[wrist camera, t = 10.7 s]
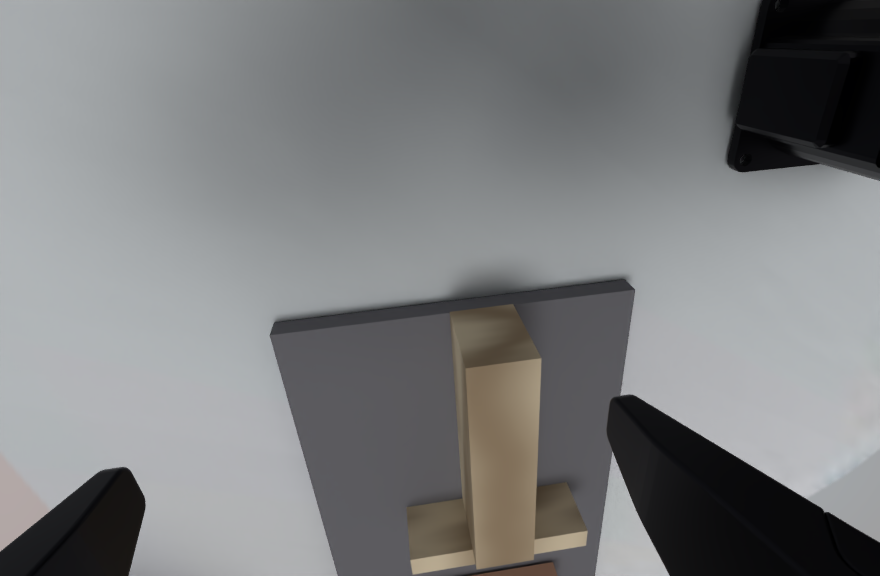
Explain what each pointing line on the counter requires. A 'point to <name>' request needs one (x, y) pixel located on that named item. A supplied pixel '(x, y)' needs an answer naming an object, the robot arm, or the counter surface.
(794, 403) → the counter surface
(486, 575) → the terracotta tile
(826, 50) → the robot arm
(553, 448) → the charcoal mat
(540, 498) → the beech scraper
